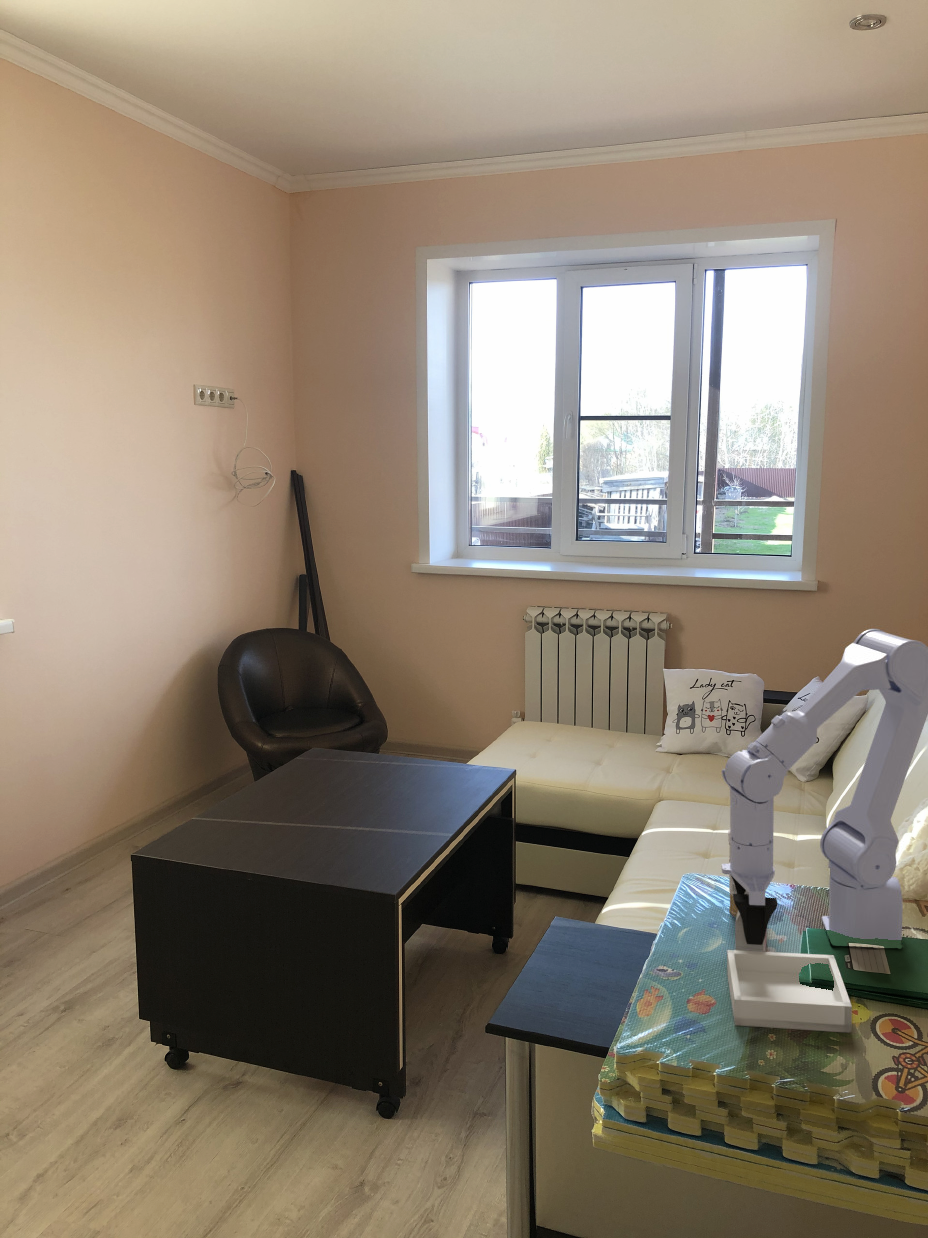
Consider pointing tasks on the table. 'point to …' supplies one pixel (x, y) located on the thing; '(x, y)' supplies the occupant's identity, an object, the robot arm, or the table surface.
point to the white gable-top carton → (740, 937)
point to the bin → (785, 992)
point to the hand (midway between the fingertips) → (751, 928)
